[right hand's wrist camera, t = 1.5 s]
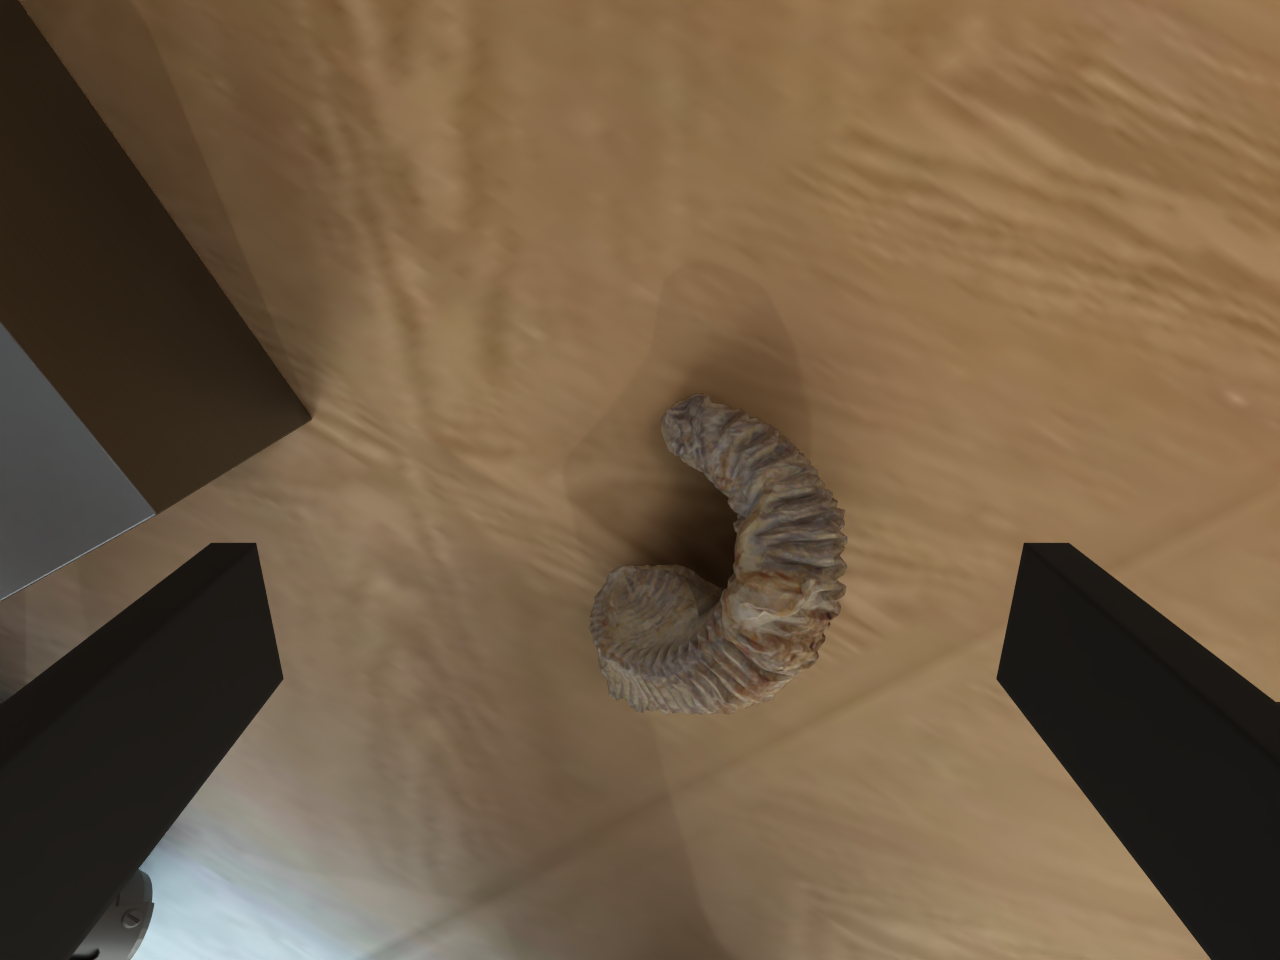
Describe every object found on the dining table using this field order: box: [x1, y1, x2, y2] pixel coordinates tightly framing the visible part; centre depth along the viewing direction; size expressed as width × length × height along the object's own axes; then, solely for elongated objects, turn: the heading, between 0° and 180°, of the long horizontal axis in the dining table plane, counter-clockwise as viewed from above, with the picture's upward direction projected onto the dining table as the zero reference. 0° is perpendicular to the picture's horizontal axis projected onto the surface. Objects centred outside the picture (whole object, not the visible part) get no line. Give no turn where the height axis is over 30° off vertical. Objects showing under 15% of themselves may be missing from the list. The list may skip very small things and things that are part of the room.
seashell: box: [589, 393, 847, 715], centre depth 31 cm, size 14×10×10 cm
